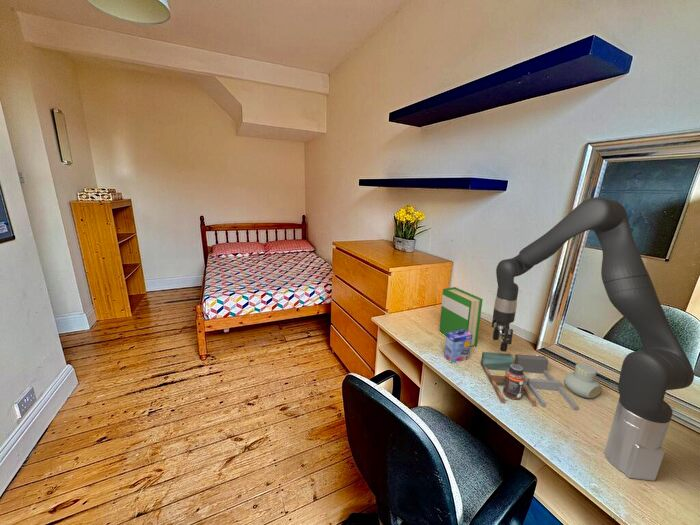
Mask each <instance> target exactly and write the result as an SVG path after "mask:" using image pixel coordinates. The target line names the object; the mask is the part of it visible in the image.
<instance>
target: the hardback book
mask: <svg viewBox="0 0 700 525" xmlns="http://www.w3.org/2000/svg"><path fill="white" fill-rule="evenodd" d="M482 306H483V298H481V297H479V296H477V295H475V294H472V293H470V292H468V291H464V290H463V289H460V288H458V287H455V286H453V287H446V288H443V289H442V299H441V310H440V320H439V331H440V332H441V333H442V334H444V335H445V336H447V333H448V332H452V331H458V330H462V329H466V331H468V332H469V333H471V334H472V342H471V347H472V346H473V347H474V346H475V347H474V348H477V346H478V339H479V338H478V337H479V332H480V323H481V316H482V315H481V314H482ZM442 334H441V335H442ZM445 336H444V337H445Z"/></svg>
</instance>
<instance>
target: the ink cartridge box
mask: <svg viewBox="0 0 700 525" xmlns="http://www.w3.org/2000/svg"><path fill="white" fill-rule="evenodd" d="M471 342H472V334H471V333H469V332H468V331H466V329H462V330H458V331H452V332H448V333H447V336H446V337H445V347H444V355H443V356H445V357H446V358H447V359H448V360H449V361H451V362H455V363H457V362H456V361H459V362H461V361H460V360H463V361H467V360H466V359H468V360H469V358H470V353H471V347H472V346H471ZM445 357H444V358H445ZM446 358H445V359H446ZM447 359H446V360H447ZM448 360H447V361H448ZM449 361H448V362H449Z"/></svg>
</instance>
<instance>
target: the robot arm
mask: <svg viewBox="0 0 700 525" xmlns="http://www.w3.org/2000/svg"><path fill="white" fill-rule="evenodd" d="M588 231H594V234H595V235H596V237H597V239H598V241H599V242H598V243H599V245H600V247H601V251H602V260H601V270H600V273H601V274H600V275H601V280H602V284H603V287H604V290H605V292H606V294H607V295H606V296H607V297H608V299H609V302H610V303H611V304H612V305H613V307H614V308H615V309H616V310H617V311H618V312H619V314H621V315H622V316H623V317H624V318H625V319H626V320H627V321H628V322H629V323H630V324H631V326H632V327H633V328H634V329H635V331H636V333H637V335H638V337H639V338H640V342H641V345H642V348H643V350H636V351H630V353H628V354H627V355H626V356H625V357H624V359H623V362H622V364H621V369H620V372H619V373H620V374H619V379H618V385H617V389H618V394H619V398H618V401H617V405H616V408H615V411H614V412H615V413H614V414H613V415H614V416H613V419H612V422H611V427H610V430H609V434H608V437H607V442H606V445H605V447H604V448H605V449H604V457H605V458H606V460H608V462H609V463H610V464H611V465H612V466H613V467H615V468H616V469H617V470H619V471H620V472H622V473H623V474H625V475H626V477H627V478H629V479H635V480H644V481H645V480H646V481H653V482H654V481H656V479H657V476H658V473H659V470H660V467H661V465H662V462H663V461H662V460H663V458H664V456H665V453H666V451H665V449H664V447H662V446H663V443H664V441H665V440H664V439H665V437H666V434H667V432H668V431H667V430H668V429H669V425H670V423H671V420H672V416H673V409H672V406H670V404H669V403H668V402H666V400H664V399H665V395H666V392H667V391H672V390H681V389H685V388H688V387H690V386H691V385H692V384H693V383H694V380H695V372H694V369H693V365H692V364H691V362H690V360H689V358H688V356H687V354H686V352H685V350H684V349H683V347H682V345H681V344H680V342H679V340H678V339H677V337H676V334H675V333H674V331H673V329H672V327H671V325H670V322H669V321H668V318H667V315H666V313H665V310H664V308H663V307H662V304H661V302H660V299H659V296H658V294H657V292H656V289H655V286H654V283H653V282H652V278H651V276H650V274H649V272H648V270H647V267H646V266H645V263H644V259H642V256H641V254H640V251H639V249H638V247H637V245H636V243H635V240H634V236H633V233H632V229H631V225H630V221H629V216H628V214H627V210H626V208H625V206H624V205H622V203H620V202H618V201H616V200H614V199H608V198H606V197H597V196H596V197H590V198H586V199H585V200H584V201H582V202H580V203H579V204H577V206H576V207H575V208H573V209H572V210H571V211H570V212H569V213H568V214H567V215H566V216H564V217H563V218H562V219H561V220H560V221H559V222H558V223H556V224H555V225H554V226H553V227H552V228H550V230H549V231H547V232H546V233H545V234H542V235H541V236H540V237H539V238H537V239H536V240H534V241H533V242H531V243H530V244H528V245H526V246H525V247H523V248H522V249H521V250H520V251H519V253H518V254H517V255H516V256H514V257H512V258H507V259H502V260H500V261H499V262H498V264H497V266H496V270H495V276H496V282H497V291H496V295H495V296H496V297H495V300H494V307H493V312H492V322H491V328H492V331H493V332H492V340H493V341H499V338H500V341H501V342H500V346H499V347H500V348H499V350H500V351H501V352H504V353H506V352H507V351H508V345H512V342H513V334H514V330H513V329H510V324H511V323H514V322H515V320H516V319H515V318H516V313H517V312H516V311H517V307H518V305H517V304H518V297H519V296H518V295H519V285H518V284H517V283H516V282H515V281H514V280H515V277H519V276H522V275H523V274H525V273H527V272H529V271H530V270H531V269H532V268H533V267H534V266H536V265H538V264H540V263H542V262H544V261H545V260H547V259H549V258H551V257H552V256H554V255H555V254H556V253H557V252H558V251H559V250H560V249H561V247H562V246H563V245H565V243H567V242H568V241H569V240H571V239H573V238H574V237H576V236H578V235H580V234H582V233H584V232H588Z"/></svg>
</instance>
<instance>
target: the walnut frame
mask: <svg viewBox="0 0 700 525" xmlns="http://www.w3.org/2000/svg"><path fill="white" fill-rule="evenodd" d="M514 360H515V357H514V356H513V355H512V354H511V353H506V352H494V351H493V352H491V351H482V352H481V360H480V362H479V363H480V365H481V367H482V370H483V372H484V374H485V375H486V377H487V379H488V381H489V382H490V384H491V386H492V388H493V390H494V392H495V393H496V395H497V398H498V399H499V401H500V403H501V404H505V401H506V399H505V397H504V394H503V392H502V391H501V389H500V388H499V386H502V387H504V381H505V376H504V375H495V374H493V375H492V374H491V372H490V370H494V371H496V370H497V371H506V370H507V369H509V368H510V365H511V364H513V363H514ZM525 385H526V384H524V387H523V394H524V395H525V397H526V399H527V400H528V401H529V403H530V404H531V406H532V407H535V406H537V401H536V400H535V397H534V396H533V394H532V393H530V390H528V389H527V388H528V387H526V386H525Z"/></svg>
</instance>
